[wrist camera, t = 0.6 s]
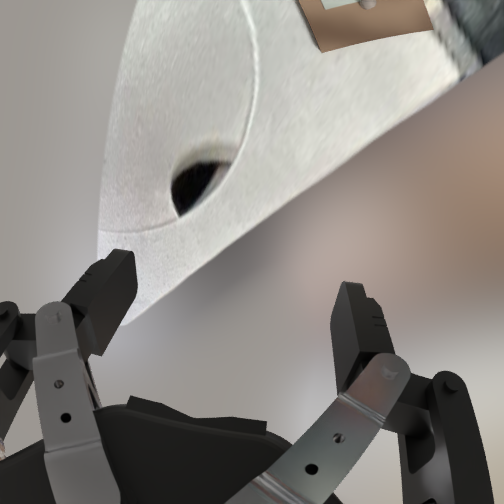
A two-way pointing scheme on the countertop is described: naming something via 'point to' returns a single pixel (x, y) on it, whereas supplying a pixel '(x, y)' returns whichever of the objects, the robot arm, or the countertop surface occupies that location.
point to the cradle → (363, 20)
